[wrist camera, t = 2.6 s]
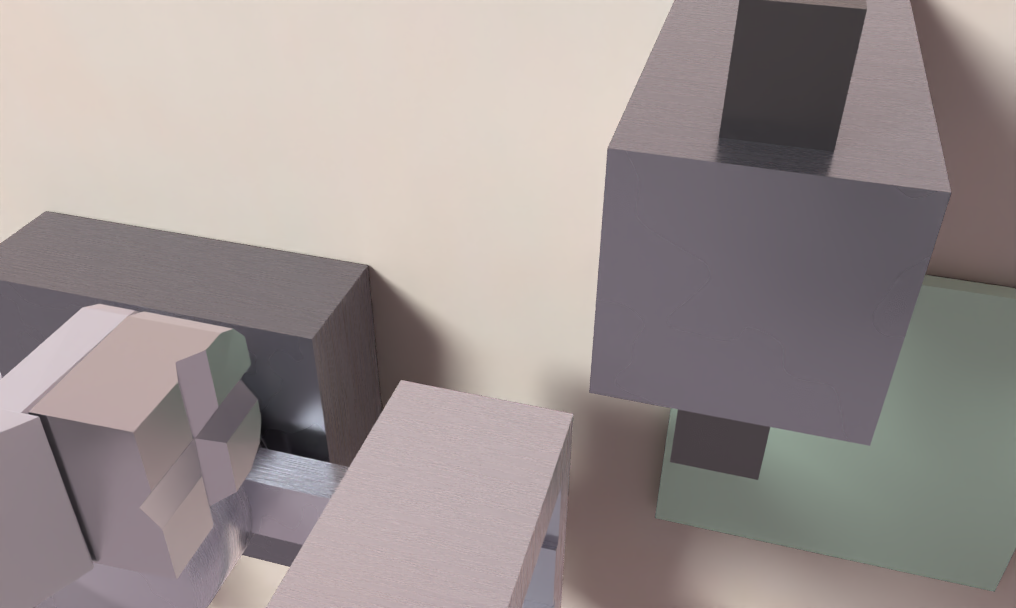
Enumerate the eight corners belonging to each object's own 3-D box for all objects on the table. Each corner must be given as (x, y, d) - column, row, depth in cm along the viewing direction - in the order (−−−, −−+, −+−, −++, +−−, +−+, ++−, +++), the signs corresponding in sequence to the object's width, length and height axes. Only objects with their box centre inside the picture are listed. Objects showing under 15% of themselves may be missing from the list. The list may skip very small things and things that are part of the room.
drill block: (367, 265, 22) (311, 338, 20) (390, 499, 27) (347, 581, 24) (-35, 197, 25) (-127, 256, 22) (50, 421, 29) (-19, 489, 27)
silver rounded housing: (575, 407, 18) (470, 714, 13) (560, 640, 23) (477, 940, 17) (-15, 292, 21) (-293, 503, 16) (73, 517, 26) (-123, 740, 20)
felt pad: (1124, 304, 17) (1129, 316, 17) (992, 577, 22) (994, 591, 22) (696, 240, 19) (693, 250, 19) (657, 506, 24) (654, 517, 23)
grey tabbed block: (927, -130, 14) (1000, 41, 8) (840, 225, 18) (842, 531, 12) (707, -143, 15) (618, 5, 9) (666, 200, 19) (582, 476, 13)
